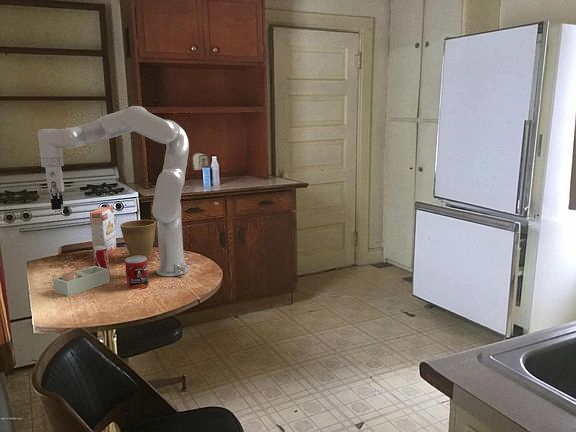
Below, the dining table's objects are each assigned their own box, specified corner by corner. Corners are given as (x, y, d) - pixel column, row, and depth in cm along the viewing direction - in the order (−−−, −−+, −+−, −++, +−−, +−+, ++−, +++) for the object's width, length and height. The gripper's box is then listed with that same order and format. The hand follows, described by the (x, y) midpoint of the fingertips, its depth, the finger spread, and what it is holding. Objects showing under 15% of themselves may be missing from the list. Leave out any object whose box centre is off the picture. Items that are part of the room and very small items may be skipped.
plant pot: (165, 255, 224) (162, 220, 220) (143, 265, 210) (140, 228, 207) (138, 252, 230) (135, 218, 226) (115, 261, 216) (112, 225, 213)
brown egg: (82, 289, 180) (80, 273, 179) (69, 294, 176) (67, 277, 175) (73, 287, 183) (72, 271, 182) (60, 291, 179) (58, 275, 178)
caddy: (110, 284, 188) (108, 269, 187) (68, 298, 174) (66, 282, 173) (96, 280, 193) (94, 265, 192) (54, 293, 179) (52, 278, 178)
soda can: (105, 278, 194) (102, 248, 192) (93, 277, 195) (90, 248, 193) (112, 274, 199) (109, 245, 197) (100, 273, 200) (97, 244, 198)
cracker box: (106, 258, 220) (102, 212, 216) (93, 259, 220) (88, 212, 216) (117, 250, 234) (113, 206, 230) (105, 250, 234) (100, 206, 230)
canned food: (129, 292, 179) (126, 262, 177) (125, 285, 186) (123, 257, 184) (151, 288, 183) (148, 259, 180) (146, 281, 190) (144, 254, 187)
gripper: (61, 163, 180) (67, 210, 184) (64, 159, 196) (69, 202, 200) (38, 165, 178) (44, 212, 181) (43, 160, 194) (49, 204, 197)
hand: (57, 207), depth 190 cm, fingers open, 9 cm apart
